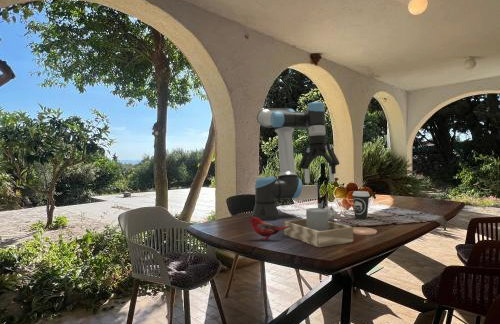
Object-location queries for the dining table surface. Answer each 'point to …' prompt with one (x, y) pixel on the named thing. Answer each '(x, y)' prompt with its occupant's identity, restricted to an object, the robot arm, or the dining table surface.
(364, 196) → the coffee cup
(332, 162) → the robot arm
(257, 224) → the decorative bird figurine
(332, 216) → the grey rock
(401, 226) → the dining table surface
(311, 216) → the white upright block
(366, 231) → the terracotta tile
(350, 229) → the pine crate
